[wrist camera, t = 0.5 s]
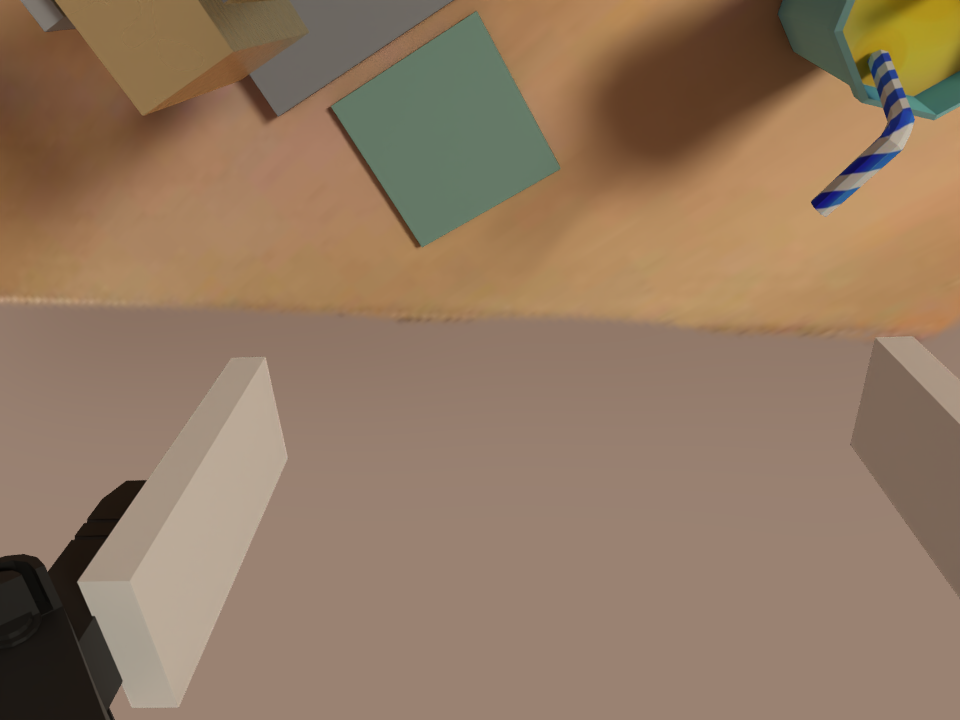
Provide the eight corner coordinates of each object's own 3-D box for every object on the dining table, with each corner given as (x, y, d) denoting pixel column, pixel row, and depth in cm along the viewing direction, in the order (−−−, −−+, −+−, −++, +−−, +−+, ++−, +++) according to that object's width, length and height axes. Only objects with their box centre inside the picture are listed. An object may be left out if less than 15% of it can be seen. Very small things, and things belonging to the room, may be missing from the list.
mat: (332, 105, 39) (330, 106, 39) (476, 10, 37) (476, 11, 36) (422, 245, 43) (421, 247, 42) (560, 167, 40) (560, 168, 40)
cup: (773, 179, 40) (902, 279, 27) (665, 93, 38) (746, 154, 25) (990, -63, 34) (1290, -89, 21) (876, -177, 33) (1125, -285, 19)
